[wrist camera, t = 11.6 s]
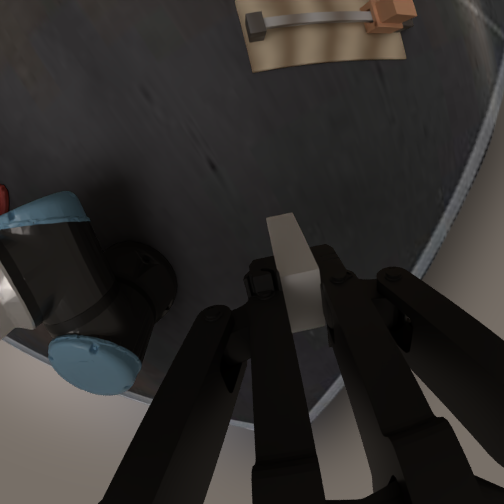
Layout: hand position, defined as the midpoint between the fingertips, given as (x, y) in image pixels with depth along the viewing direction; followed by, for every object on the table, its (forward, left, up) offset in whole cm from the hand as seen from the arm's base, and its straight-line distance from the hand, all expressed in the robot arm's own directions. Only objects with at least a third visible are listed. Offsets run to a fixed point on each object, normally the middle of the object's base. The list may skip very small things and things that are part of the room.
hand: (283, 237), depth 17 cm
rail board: (+14, +19, -29) cm, 38 cm away
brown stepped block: (+21, +19, -26) cm, 39 cm away
